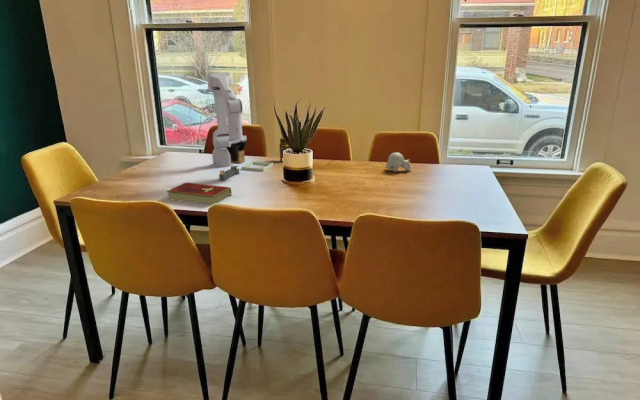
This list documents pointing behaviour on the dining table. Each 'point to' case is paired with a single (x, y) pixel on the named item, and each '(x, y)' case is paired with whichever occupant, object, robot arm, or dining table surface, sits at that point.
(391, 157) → the toy rhinoceros
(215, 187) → the hardcover book
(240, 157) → the block
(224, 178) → the crank
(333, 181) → the dining table surface
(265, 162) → the tray
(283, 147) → the condiment
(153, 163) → the dining table surface
